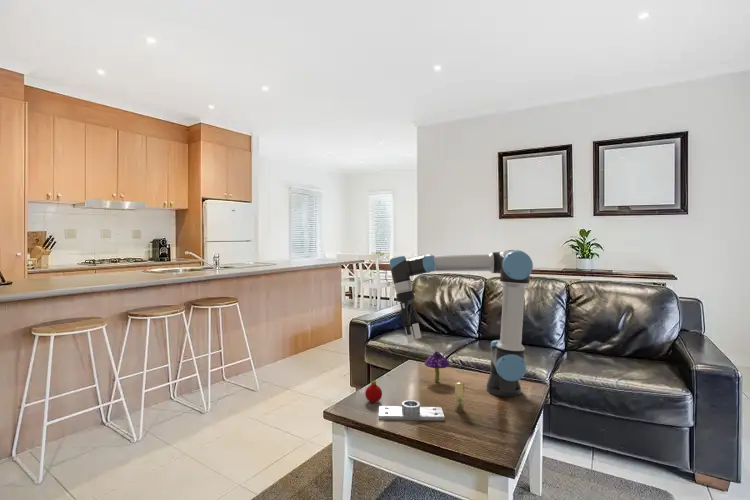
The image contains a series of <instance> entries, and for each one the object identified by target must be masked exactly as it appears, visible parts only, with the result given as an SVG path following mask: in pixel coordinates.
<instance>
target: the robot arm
mask: <svg viewBox="0 0 750 500" xmlns="http://www.w3.org/2000/svg"><path fill="white" fill-rule="evenodd" d="M389 266H390V272H391V277H392V281H393V285H394V286H393V289H394V291H395V293H396V300H397V302H398V303H400V309H401V319H402V321H401V322H402V328H403V329H404V331H405V334H406V339H407V343H408V344H412V343H415V340H416V339H421V338H422V333H421V329H420V325H419V323H420V322H421V321H420V320H419V316H418V313H417V311H416V308H415V305H414V302H413V301H412V300H414V299H416V298H415V293H414V291H413V288H414V287H413V285H412V279H411V277H414V276H418V275H424V274H428V273H429V274H430V273H433V272H489V273H491V274H500V278H499V279H500V280H499V282H500V283H501V284H502V285H503V288H502V304H501V321H500V325H501V326H500V334H499V335H500V337H499V339H495V340H492V341H491V342H490V346H489V347H490V374H489V376H488V379H487V382H486V386H485V387H486V391H487V392H488V393H490V394H492V395H495V396H498V397H504V398H510V397H511V398H512V397H513V398H515V397H517V396H520V395H521V394H522V387H521V383H520V380H521V379H522V378H523V377H524V376H525V374H526V371H527V363H526V362H525V354H526V351H525V350H526V348H525V346H524V345H523V344H522V341H523V325H524V324H523V323H524V310H525V309H524V307H525V294H526V293H525V292H526V291H525V290H526V287H527V286H528V285H529V284H530V275H531V273H532V271H533V267H534V263H533V260H532V258H531V257H530V255H528V254H527V253H526V252H525V251H522V250H519V249H509V250H504V251H503V250H502V251H495V252H494V251H493V252H490V253H489V254H445V255H444V254H441V255H439V254H437V255H436V254H435V255H432V254H425V255H424V254H420V255H419V256H417V257H413V258H409V259H408V258H407V257H406V256H405V255H400V256H395V257H392V258H390V259H389ZM401 302H402V303H401ZM411 323H412V324H411Z"/></svg>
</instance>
